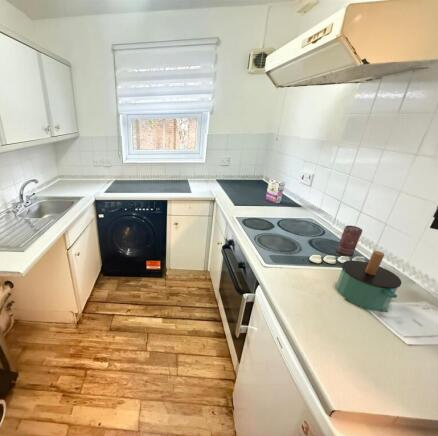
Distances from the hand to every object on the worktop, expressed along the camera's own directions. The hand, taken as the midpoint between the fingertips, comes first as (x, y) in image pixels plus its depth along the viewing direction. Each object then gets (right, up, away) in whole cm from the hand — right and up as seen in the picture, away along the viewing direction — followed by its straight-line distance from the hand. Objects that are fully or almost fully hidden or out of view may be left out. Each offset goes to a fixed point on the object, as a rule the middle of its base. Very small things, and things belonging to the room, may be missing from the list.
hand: (437, 223), depth 76 cm
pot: (-15, -27, +11) cm, 32 cm away
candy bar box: (+5, +15, +109) cm, 110 cm away
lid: (-15, -18, +7) cm, 24 cm away
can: (+1, -16, +37) cm, 40 cm away
